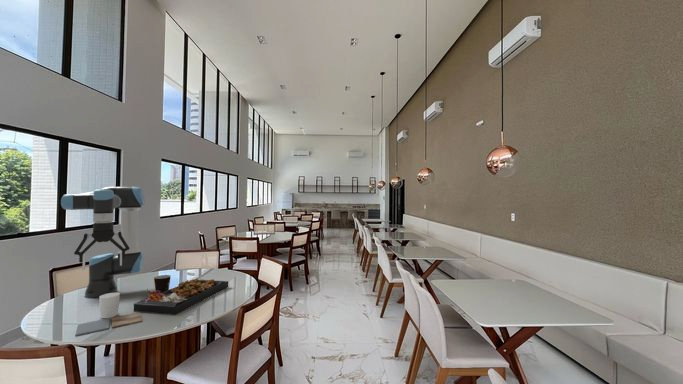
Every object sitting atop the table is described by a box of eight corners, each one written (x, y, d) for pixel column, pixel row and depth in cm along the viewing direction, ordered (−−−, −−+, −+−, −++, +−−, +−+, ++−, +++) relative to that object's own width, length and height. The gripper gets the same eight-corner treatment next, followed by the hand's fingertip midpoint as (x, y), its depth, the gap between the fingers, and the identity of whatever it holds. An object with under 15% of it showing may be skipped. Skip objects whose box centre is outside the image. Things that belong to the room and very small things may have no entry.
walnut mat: (112, 318, 139) (112, 317, 139) (140, 313, 146) (140, 311, 146) (112, 328, 129) (112, 326, 129) (142, 321, 136) (142, 320, 136)
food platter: (175, 316, 144) (175, 294, 144) (133, 312, 149) (133, 292, 149) (228, 288, 188) (228, 272, 188) (194, 286, 193) (194, 270, 193)
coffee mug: (162, 296, 171) (162, 279, 172) (150, 295, 173) (150, 278, 173) (177, 290, 183) (177, 273, 183) (165, 289, 184) (165, 273, 185)
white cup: (106, 312, 147) (106, 292, 147) (123, 312, 147) (123, 292, 147) (94, 319, 139) (95, 298, 139) (112, 318, 139) (112, 297, 140)
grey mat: (78, 325, 132) (78, 324, 132) (109, 319, 139) (109, 318, 139) (75, 336, 122) (75, 334, 122) (109, 328, 128) (109, 327, 128)
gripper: (66, 224, 129) (65, 272, 128) (135, 221, 144) (135, 264, 143) (68, 223, 135) (68, 269, 134) (135, 220, 150) (134, 262, 149)
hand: (102, 267), depth 139 cm, fingers open, 13 cm apart
